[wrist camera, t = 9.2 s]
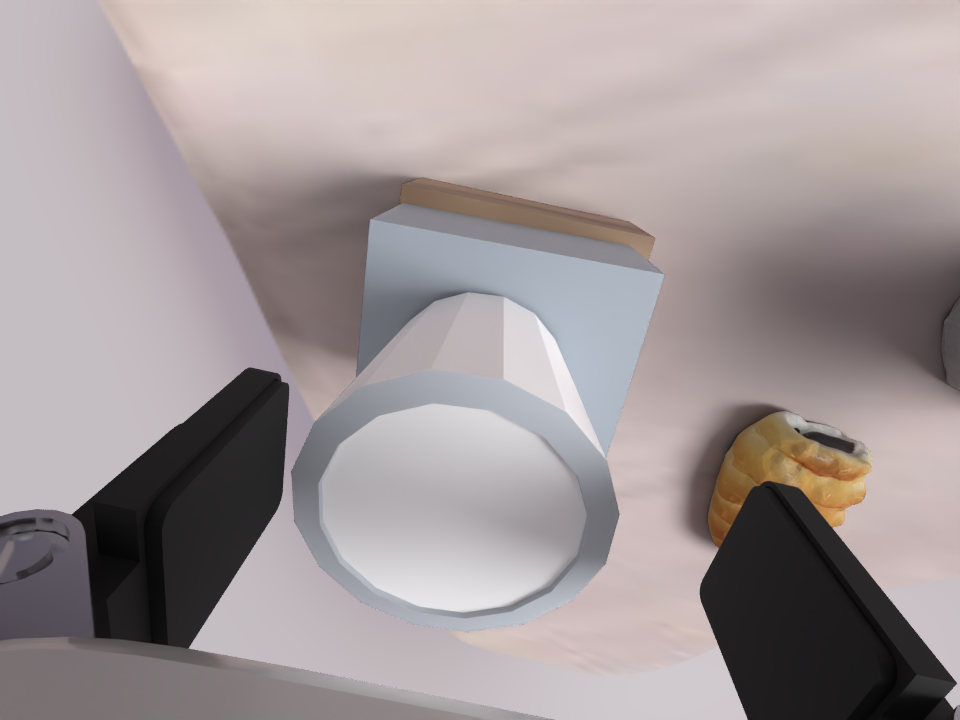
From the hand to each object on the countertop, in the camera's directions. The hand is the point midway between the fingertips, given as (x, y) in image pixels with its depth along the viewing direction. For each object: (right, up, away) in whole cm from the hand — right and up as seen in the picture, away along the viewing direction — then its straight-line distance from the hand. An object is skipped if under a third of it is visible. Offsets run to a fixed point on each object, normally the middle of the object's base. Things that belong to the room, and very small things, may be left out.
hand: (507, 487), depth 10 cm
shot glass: (-1, +2, +7) cm, 7 cm away
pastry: (+16, -4, +19) cm, 25 cm away
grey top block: (0, +4, +12) cm, 12 cm away
